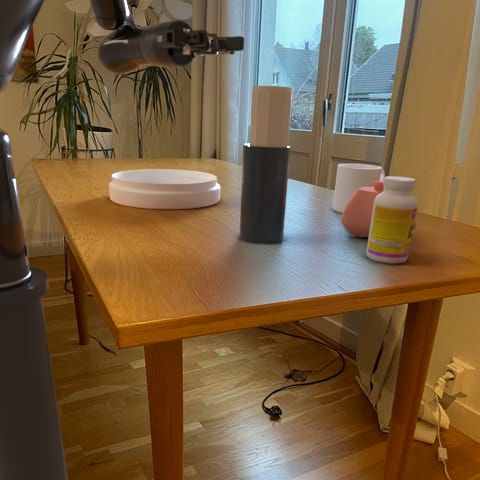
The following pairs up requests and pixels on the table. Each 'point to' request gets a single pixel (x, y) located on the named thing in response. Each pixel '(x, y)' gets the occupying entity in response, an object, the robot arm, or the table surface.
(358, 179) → the mug
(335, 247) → the table surface
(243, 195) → the flask
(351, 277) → the table surface
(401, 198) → the supplement bottle
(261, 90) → the beige faceted cylinder
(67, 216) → the table surface
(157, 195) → the plate
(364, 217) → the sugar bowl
